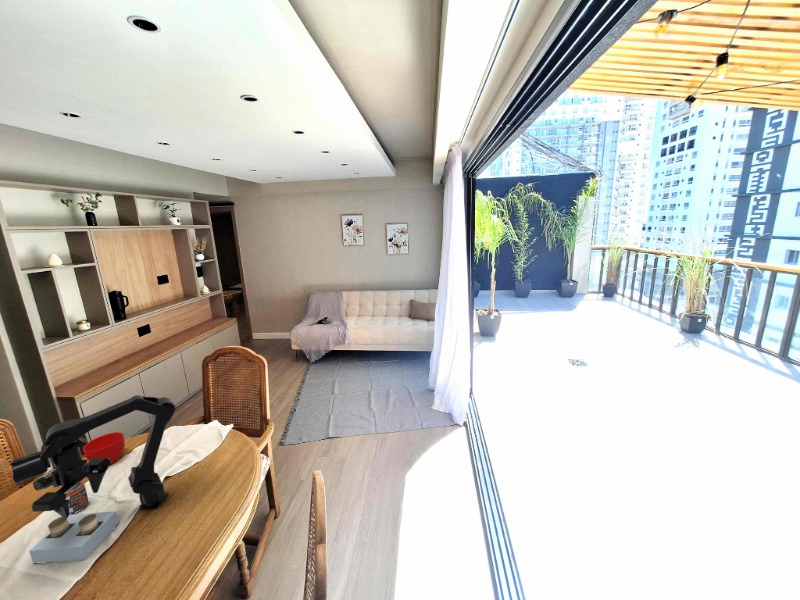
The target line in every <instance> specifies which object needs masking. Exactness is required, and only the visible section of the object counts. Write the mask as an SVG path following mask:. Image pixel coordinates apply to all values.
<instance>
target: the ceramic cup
mask: <svg viewBox="0 0 800 600" xmlns="http://www.w3.org/2000/svg"><path fill="white" fill-rule="evenodd" d="M125 444H126V441H125V435H124V433H123V432H121V431H120V432H119V431H118V432H110V433H106V434H104V435H100V436H98V437H95V438H93V439H91V440H90V441H88V442H87V443H86V444H85V445H83V447H82V451H83V454H84V455H82V454H81V455H82V458H86V459H87V462H89V461H91V460H92V459H94V458H109V459H110V461H111V465H112V464H114V463H115V462H117V461H118V460H119V458H120V457H121V455H122V454H123V452H124V451H125V450H124V449H125ZM84 465H85V464H84Z"/></svg>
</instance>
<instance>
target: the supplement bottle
mask: <svg viewBox="0 0 800 600" xmlns="http://www.w3.org/2000/svg"><path fill="white" fill-rule="evenodd" d="M65 494H66V499H65V500H68V501H69V515H71V514H70V513H74V514H76V513H75V512H77V511H79V510H81V509H82V510H83V508H84V507H85V508H86V507H87V506H88V505H89V504H88V503H89V502H90V501H89V497H88V492H87V489H86V486H85V482H83V480H82V481H81V482H80V483H78V484H77V485H76V486H74V487H73V488H72V489H71V490H69V491H68V492H67V493H65ZM85 508H84V509H85ZM82 510H81V511H82ZM79 512H80V511H79ZM77 513H78V512H77Z"/></svg>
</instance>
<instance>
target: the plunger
mask: <svg viewBox="0 0 800 600" xmlns="http://www.w3.org/2000/svg"><path fill="white" fill-rule="evenodd" d="M47 527H48V530H49V533H50V534H51V537H52V538H59V537H61V536H63V535H64V534H65V533H66V532H67V531H68V530H69V529H70V526H69V522H68V519H67V518H63V517H62V516H60V517H57V518H55V519H54V520H52V521H51V522H50V523H49V524H48V525H47Z"/></svg>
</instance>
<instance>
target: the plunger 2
mask: <svg viewBox="0 0 800 600" xmlns="http://www.w3.org/2000/svg"><path fill="white" fill-rule="evenodd" d="M78 524H79V528H80V531H81V534H82V536H86V535H90V534H92V533H93V532H94V531H95V530H96V529H97V528H98V527H99V523H98V519H97V516H96V514H90V515H88V516H86V517H84V518H83V519H81V520H80V521H79V523H78Z"/></svg>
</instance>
